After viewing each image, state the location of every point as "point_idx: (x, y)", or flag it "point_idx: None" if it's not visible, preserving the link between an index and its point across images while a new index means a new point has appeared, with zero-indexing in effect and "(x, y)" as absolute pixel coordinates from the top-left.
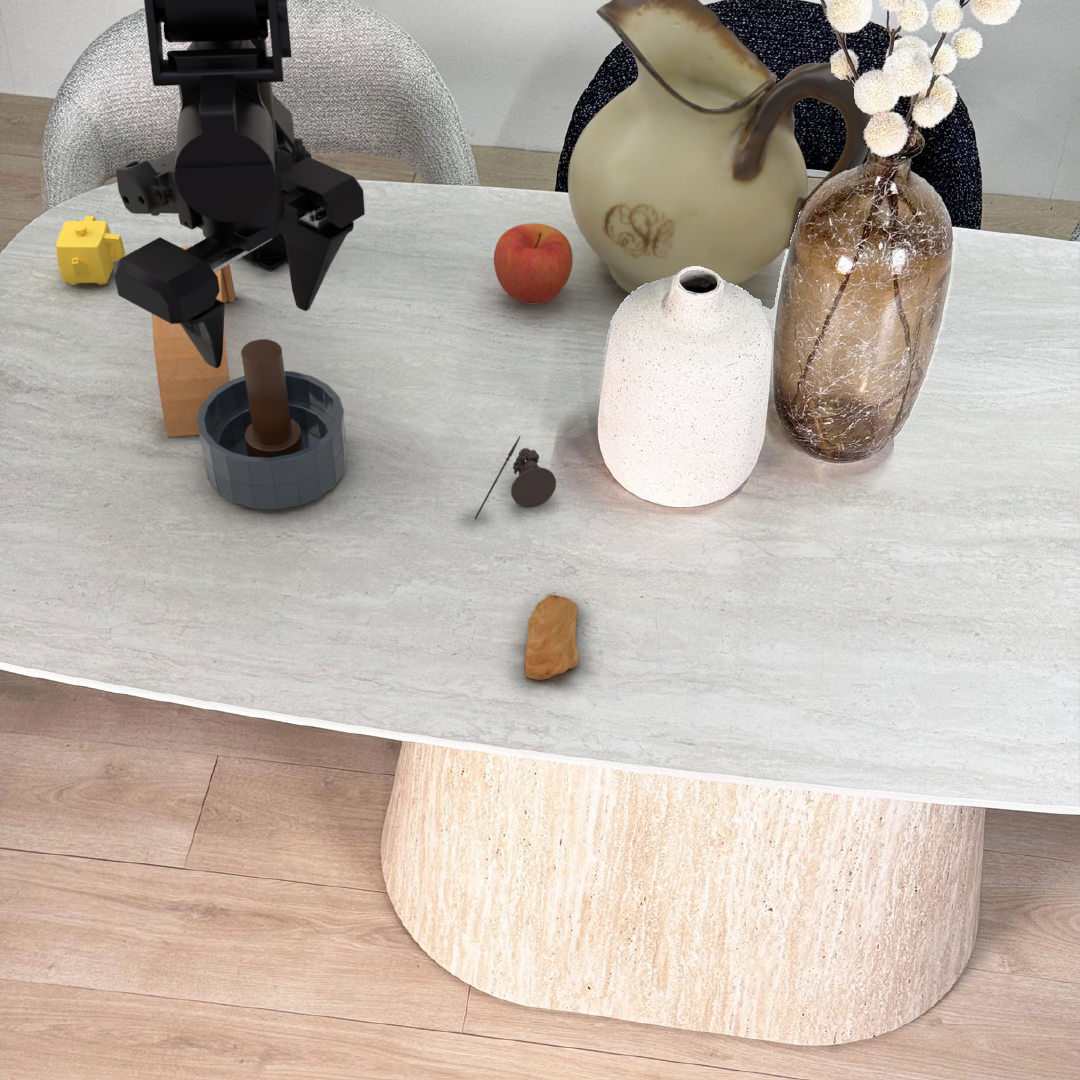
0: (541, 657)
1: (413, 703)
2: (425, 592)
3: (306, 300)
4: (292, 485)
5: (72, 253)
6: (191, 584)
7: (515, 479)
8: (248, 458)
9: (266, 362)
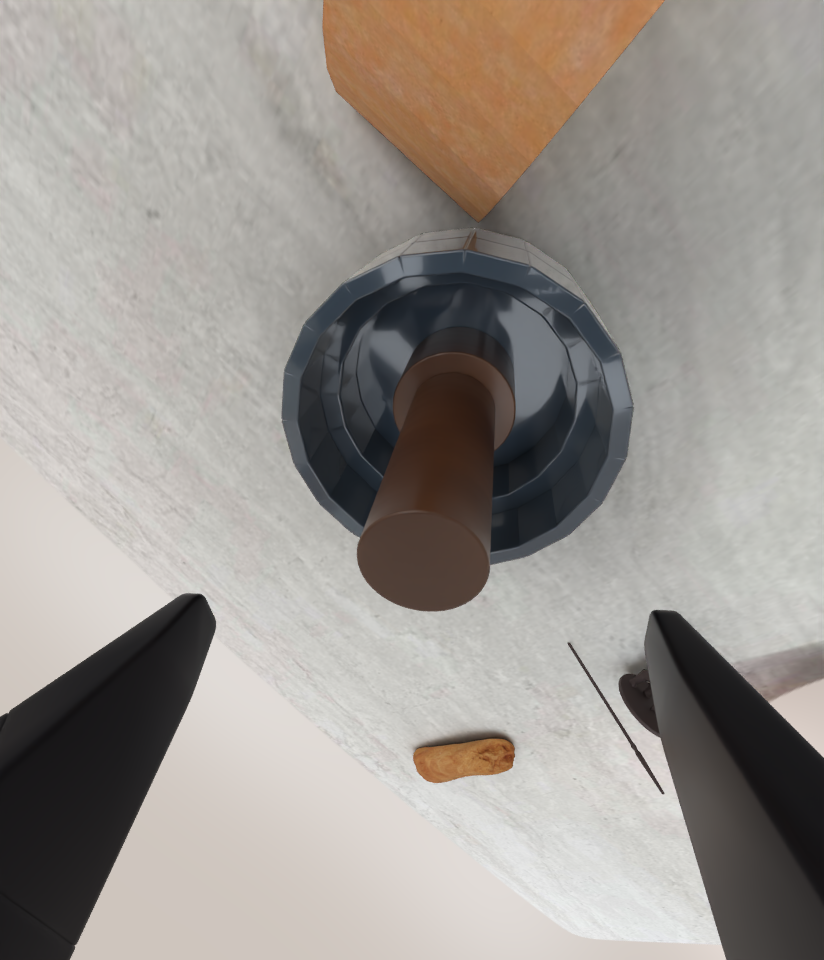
0: (428, 773)
1: (319, 702)
2: (426, 655)
3: (656, 704)
4: None
5: None
6: (207, 466)
7: (633, 710)
8: (324, 498)
9: (396, 603)
